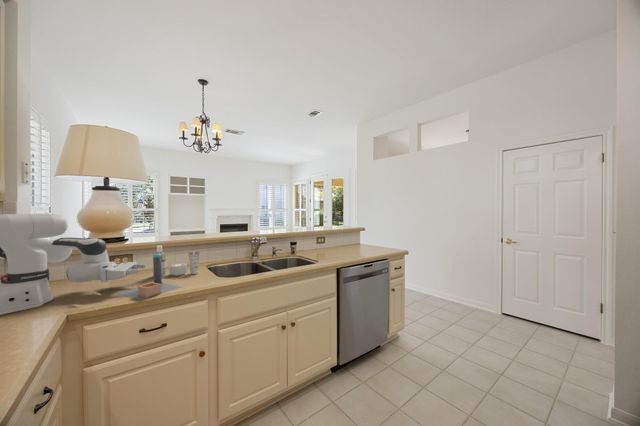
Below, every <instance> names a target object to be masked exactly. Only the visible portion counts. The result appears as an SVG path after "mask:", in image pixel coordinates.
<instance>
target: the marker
mask: <svg viewBox="0 0 640 426" xmlns="http://www.w3.org/2000/svg"><path fill="white" fill-rule="evenodd" d="M161 257H162V254H156V253H155V254H153V255H152V267H153V268H152V270H154V277H153V282H154V283H159V284H162V283H163V282H162V280H163V277H162V262H161Z"/></svg>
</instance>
